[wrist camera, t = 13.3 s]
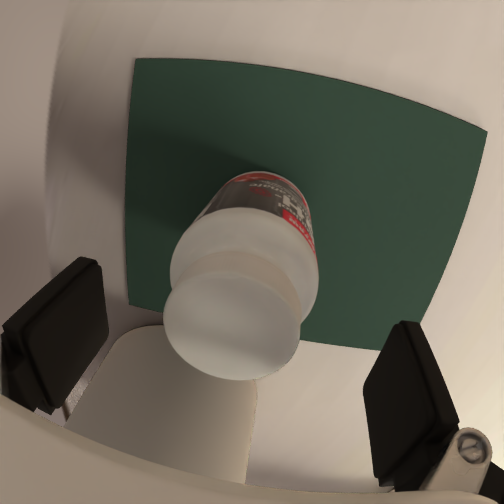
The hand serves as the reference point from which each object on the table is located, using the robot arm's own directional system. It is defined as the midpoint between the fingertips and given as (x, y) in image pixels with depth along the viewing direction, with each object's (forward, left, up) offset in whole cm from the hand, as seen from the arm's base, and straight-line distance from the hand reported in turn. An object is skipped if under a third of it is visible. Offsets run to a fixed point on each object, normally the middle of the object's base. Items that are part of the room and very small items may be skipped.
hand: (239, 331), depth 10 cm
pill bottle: (0, 0, -9) cm, 9 cm away
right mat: (-2, 0, -10) cm, 10 cm away
